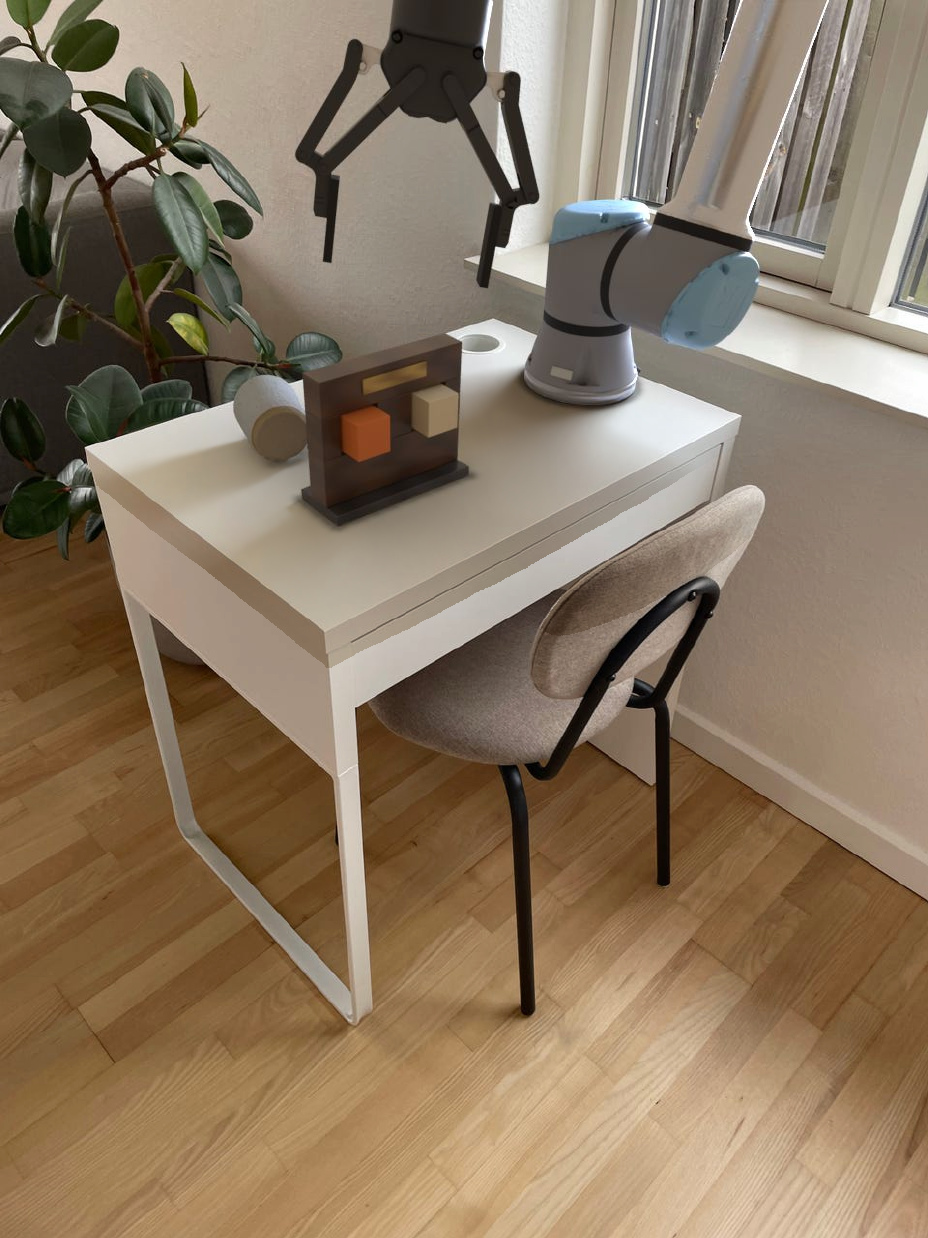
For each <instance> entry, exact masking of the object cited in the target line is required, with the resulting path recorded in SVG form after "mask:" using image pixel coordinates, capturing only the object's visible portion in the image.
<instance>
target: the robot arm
mask: <svg viewBox="0 0 928 1238" xmlns="http://www.w3.org/2000/svg"><path fill="white" fill-rule="evenodd" d="M493 3H494V1H493V0H392V6H391V14H390V23H389V32H388V39H387V42H386V44H385V46H384V47H383V49H381V48H378V47H374V46H372V45H368V44H365V43H363V42H362V41H361V40H359V39H357V38H352V39H350V40H349V41H348V43H347V47H346V51H345V55H344V56H345V57H344V62H343V66H342V70H341V72H340V73H339V75H338V77H337V79H336V80H335V82H334V84H333V85H332V87H331V89H330V90H329V92H328V93H327V96H326V97H325V99H324V101H323V102H322V104H321V106H320V108H319V109H318V111H317V113H316V115H315V116H314V118H313V119H312V121H311V123H310V125H309V126H308V128H307V130H306V131H305V133H304V135H303V136H302V139H301V140H300V142H299V144H298V145H297V147H296V149H295V152H294V157H295V160H296V161H297V162H298V163H300V164H303V165H305V166H306V167H308V168H309V169H311V170H312V171H313V172H314V176H315V182H314V183H315V185H314V194H313V195H314V196H313V207H312V209H313V213H314V217H317V218H323V219H326V221H325V231H324V232H325V233H324V235H325V236H324V242H323V243H324V244H323V255H322V262H323V263H328V264H332V263H333V251H334V243H335V233H336V232H335V231H336V221H337V212H338V211H337V210H338V202H339V191H340V180H341V176H340V175H338V174H332V172H334V170H336V169H337V167H339V166H340V165H341V164H342V163H343V162H344V161H345V160H346V159H347V158H348V157H350V155H351V154H352V153H353V152H354V151H355V150H356V149H357V148H358V147H359V146H360V145H361V144H362V143H363V142H364V141H365V140H366V139H367V138H368V137H369V136H371V134H372V133H373V132H374V131H375V130H376V129H377V128H378V127H380V126H381V124H382V123H383V122H384V121H385V120H387V119H388V118H389V117H390V116H392V114H393V113H394V112H396V110H398V109H400V110H401V112H403V113H404V114H405V115H406V116H407V117H410V118H414V119H415V118H416V119H423V118H429V119H431V120H433V121H435V122H437V123H440V124H441V123H442V124H448V123H453V122H454V121H456V120H457V121H458V123H459V125H460V127H461V128H462V130H463V132H464V134H465V136H466V138H467V140H468V142H469V143H470V146H471V147H472V149H473V151H474V154H475V155H476V157H477V159H478V161H479V163H480V165H481V167H482V168H483V170H484V173H485V174H486V177H487V178H488V180H489V183H490V184H491V186H492V188H493V190H494V192H495V194H496V196H497V197H498V199H499V201H498V203H495V202H489V203H488V210H487V215H486V222H485V228H484V234H483V239H482V244H481V249H480V255H479V261H478V268H477V273H476V278H475V281H476V282H477V285H478V287H479V288H482V289H483V288H484V289H489V285H490V280H491V274H492V269H493V263H494V259H495V258H494V257H495V252H496V248H501V249H506V248H507V246H508V244H509V243H510V237H511V232H512V226H513V222H514V216H515V213H516V210H517V209H518V208H520V207H521V206H527V205H535V204H537V203H538V202H539V201H540V197H541V196H540V191H539V187H538V182H537V178H536V173H535V168H534V164H533V161H532V155H531V152H530V148H529V147H530V146H529V143H528V139H527V134H526V130H525V125H524V121H523V117H522V113H521V108H520V96H521V85H522V83H521V82H522V78H521V75H520V73H518V72H517V71H515V70H509V69H508V70H506V71H504V72H503V71H492V70H489V71H488V70H487V69H486V64H485V54H486V47H487V41H488V34H489V29H490V22H491V16H492V9H493ZM828 3H829V0H740V2H739V5H738V8H737V11H736V15H735V17H734V20H733V23H732V26H731V30H730V33H729V35H728V39H727V41H726V45H725V47H724V51H723V53H722V55H721V59H720V63H719V65H718V68H717V71H716V74H715V78H714V80H713V84H712V86H711V90H710V92H709V96H708V99H707V101H706V104H705V108H704V110H703V113H702V116H701V119H700V122H699V124H698V129H697V131H696V134H695V137H694V139H693V144H692V146H691V149H690V152H689V156H688V157H687V161H686V165H685V167H684V170H683V172H682V176H681V178H680V182H679V185H678V188H677V191H676V194H675V197H673V198H672V200H670V201H669V202H667V203H665V204H663V205H662V206H660V207H658V208H657V210H656V213H655V216H654V219H653V221H652V224H649V223H648V222H649V220H650V217H651V216H650V211H649V208H648V206H647V205H646V204H645V203H642V202H640V201H634V200H627V199H595V200H584V201H577V202H574V203H570V204H567V205H564V206H563V207H561V208H560V209H559V210H557V212H555V215H554V216H553V219H552V226H551V233H550V238H549V240H548V254H547V266H546V277H545V279H546V280H545V293H544V303H543V306H544V307H543V315H542V316H543V317H542V322H541V326H540V329H539V330H538V333H537V335H536V337H535V340H534V343H533V345H532V347H531V351H530V353H529V355H528V356H527V359H526V361H525V365H524V378H523V379H524V382H525V384H526V385H527V386H528V388H530V389H531V390H532V391H533V392H535V393H537V394H538V395H540V396H542V397H545V398H547V399H550V400H553V401H556V402H561V403H565V404H571V405H579V406H580V405H581V406H601V405H609V404H613V403H617V402H620V401H622V400H625V399H626V398H628V397H630V396H631V395H632V394H633V393H634V392H635V390H636V385H637V378H638V374H639V373H641V371H642V368H640V367H639V366H637V364H636V363H635V359H634V357H635V356H634V348H633V342H632V341H633V340H632V333H631V329H632V328H633V329H635V330H638V331H641V332H643V333H646V334H648V335H651V336H653V337H656V338H659V339H661V340H663V341H664V343H666V344H669V345H674V346H680V347H683V348H686V349H689V350H694V351H704V350H708V349H711V348H713V347H716V346H717V345H719V344H720V343H722V342H723V341H724V340H725V339H726V338H727V337H728V336H730V335H731V334H732V333H733V332H734V331H735V330H736V329H737V327H739V325H740V324H741V322H742V321H743V319H744V318H745V316H746V315H747V313H748V311H749V309H750V307H751V306H752V304H753V302H754V299H755V297H756V294H757V291H758V289H759V283H760V282H759V281H760V280H759V279H758V278H759V276H760V266H759V263H758V261H757V259H756V258H755V257H754V256H753V255H752V254H751V249H752V246H753V244H754V241H755V238H756V236H755V233H754V232H753V229H752V228H751V226H750V225H751V224H750V221H749V216H750V214H751V211H752V209H753V205H754V204H755V203H754V202H755V200H756V197H757V195H758V192H759V190H760V186H761V185H762V181H763V178H764V176H765V173H766V171H767V168H768V165H769V162H770V160H771V157H772V155H773V152H774V149H775V146H776V144H777V140H778V138H779V135H780V132H781V130H782V127H783V124H784V121H785V119H786V116H787V113H788V111H789V108H790V105H791V104H792V103H791V102H792V100H793V97H794V94H795V93H796V92H795V91H796V90H797V86H798V85H799V82H800V79H801V75H802V73H803V70H804V68H805V65H806V62H807V59H808V57H809V54H810V51H811V48H812V46H813V43H814V40H815V38H816V36H817V32H818V30H819V27H820V24H821V22H822V19H823V16H824V13H825V10H826V8H827V5H828ZM374 65H379V66H380V70H381V72H382V74H383V76H384V77H385V80H386V82H387V84H388V87H389V88H388V90H386V91H385V92H384V93H383V94H382V95H381V96H380V98H379V99H377V101H376V102H375V103H374V104H373V105H372V106H370V108H368V110H367V111H366V112H365V113H363V115H362V116H361V117H360V118H359V119H358V120H357V121H355V123H353V125H352V126H350V127H349V129H347V131H345V133H344V134H343V135H341V137H339V139H338V140H337V141H336V142H335V143H334V144H332V145H331V147H329V148H328V149H327V151H325V152H324V153H323V154H322V153H320V152H318V151H317V150H316V149H317V147H318V146H319V144H320V142H321V141H322V139H323V138H324V136H325V134H326V132H327V131H328V129H329V127H330V125H331V124H332V122H333V120H334V119H335V117H336V115H337V114H338V112H339V110H340V109H341V107H342V105H343V103H344V101H345V100H346V98H347V97H348V95H349V94H350V91H351V90H352V88H353V87H354V84H355V82H356V80H357V78H358V75H362V76H364V75H367V74H368V73H369V72H370V70H371V68H372V67H373V66H374ZM485 87H488V88H489V89H490V91H491V95H492V98H493V99H494V101H496V102H498V103H500V104H499V105H500V111H501V116H502V120H503V124H504V129H505V133H506V137H507V142H508V145H509V149H510V154H511V158H512V162H513V166H514V171H515V175H516V178H517V183H518V187H516V188H513V187H512V186H511V184H510V181H509V180H508V178H507V176H506V174H505V172H504V169H503V168H502V166H501V164H500V162H499V160H498V158H497V156H496V154H495V152H494V150H493V148H492V146H491V144H490V142H489V140H488V137H487V136H486V134H485V132H484V130H483V128H482V126H481V124H480V122H479V120H478V117H477V115H476V114H475V111H474V110H473V107H472V106H471V104H472V102H473V101H475V99H476V98H477V97H478V96H479V95H480V94H481V93H482V91H483V90H484V89H485Z"/></svg>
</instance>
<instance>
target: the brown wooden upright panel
mask: <svg viewBox="0 0 928 1238" xmlns="http://www.w3.org/2000/svg"><path fill="white" fill-rule="evenodd" d="M462 359H463V341H462V340H459V339H458V338H456V337H454V336H452V335H450V334H448V333H445V332H442V333H440V334H435V335H433V336H430V337H429V336H428V337H425V338H422V339H418V340H414V341H411V342H407V343H403V344H400V345H396V346H393V347H390V348H386V349H382V350H379V351H375V352H371V353H368V354H364V355H360V356H358V357H353V358H350V359H346V360H343V361H339V362H336V363H331V364H329V365H325V366H322V367H318V368H314V369H311V370H307V371H303V372H302V387H303V388H302V389H303V401H304V410H305V417H306V431H307V445H306V446H307V457H308V471H309V484H310V485H309V486H305V487H303V488H301V489H300V494H301V499H302V500H303V501H305V502H306V503H307V504H308V505H309V506H311V507H312V508H314V509H315V510H316V511H317V512H319V513H320V514H321V515H323V516H324V517H326V519H327V520H330V522H332V523H333V524H335V526H337V527H340V526H342V525H345V524H347V523H350V522H352V521H355V520H358V519H360V518H363V517H365V516H368V515H370V514H374V513H375V512H378V511H380V510H383V509H387V508H388V507H391V506H394V505H395V504H399V503H402V502H403V501H406V500H409V499H412V498H414V497H417V496H420V495H421V494H424V493H427V492H430V491H432V490H434V489H437V488H439V487H442V486H445V485H447V484H450V483H452V482H455V481H457V480H460V479H463V478H465V477H467V476H469V472H470V466H469V465H468V464H466V463H464V462H463V461H461V460H459V459H458V458H459V457H458V456H459V433H460V412H461V411H460V410H461V409H460V408H461V386H462V385H461V384H462ZM438 383H441V384H443V385H444V386H446V387H448V388H450V389H452V390H453V391H455V392H457V393H459V395H458V421H457V428H454V429H452V430H449V431H446V432H443V433H440V434H437V435H435V436H432V437H429V438H428V437H427V436H425V435H423V434H422V433H420V432H419V431H417V430H415V429H414V428H412V427H411V392H413V391H416V390H419V389H422V388H425V387H428V386H432V385H435V384H438ZM371 404H372V405H373V406H375V407H377V408H378V409H380V410H381V411H383V412H385V413H386V414H388V415H390V451H389V452H386V453H383V454H380V455H378V456H375V457H372V458H369V459H366V460H363V461H360V462H358V461H356V460H355V459H353V458H352V457H351V456H349V455H348V454H346V453H345V452H343V451H342V450H341V434H340V415H339V414H343V413H346V412H349V411H352V410H355V409H358V408H362V407H365V406H368V405H371Z"/></svg>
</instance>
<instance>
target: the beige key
mask: <svg viewBox="0 0 928 1238" xmlns="http://www.w3.org/2000/svg"><path fill="white" fill-rule="evenodd" d="M458 395H459V393H457V392H455V391H453V390H452V389H450V388H448V387H446V386H444V385H443V384H441V383H438V384H435V385H432V386H428V387H425V388H422V389H419V390H416V391H413V392H411V427H412V428H414V429H415V430H417V431H419V432H420V433H422V434H423V435H425V436H427V437H428V438H429V437H432V436H435V435H437V434H440V433H443V432H446V431H449V430H452V429H454V428H457V421H458Z"/></svg>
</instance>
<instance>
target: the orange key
mask: <svg viewBox="0 0 928 1238" xmlns="http://www.w3.org/2000/svg"><path fill="white" fill-rule="evenodd" d="M339 415H340V434H341V450H342V451H343V452H345V453H346V454H348V455H349V456H351V457H352V458H353V459H355V460H356V461H358V462H360V461H363V460H366V459H369V458H372V457H375V456H378V455H380V454H383V453H386V452H389V451H390V415H388V414H386V413H385V412H383V411H381V410H380V409H378V408H377V407H375V406H373V405H372V404H371V405H368V406H365V407H362V408H358V409H355V410H352V411H349V412H346V413H343V414H339Z"/></svg>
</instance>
